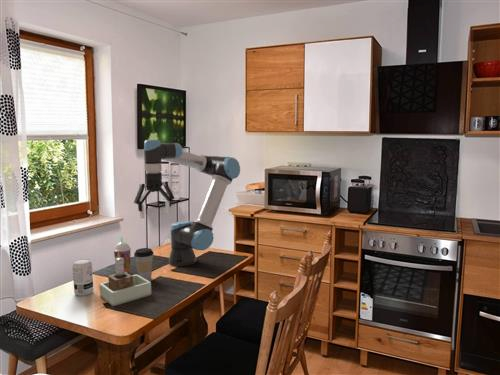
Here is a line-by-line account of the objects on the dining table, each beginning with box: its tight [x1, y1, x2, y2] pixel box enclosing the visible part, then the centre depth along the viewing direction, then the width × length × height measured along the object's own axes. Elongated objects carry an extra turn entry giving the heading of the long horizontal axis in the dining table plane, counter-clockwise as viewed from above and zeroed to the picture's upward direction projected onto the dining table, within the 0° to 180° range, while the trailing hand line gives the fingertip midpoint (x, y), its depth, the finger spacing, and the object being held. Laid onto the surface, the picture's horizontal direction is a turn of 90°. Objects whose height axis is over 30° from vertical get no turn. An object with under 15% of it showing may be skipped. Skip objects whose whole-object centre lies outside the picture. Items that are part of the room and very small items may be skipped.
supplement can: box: [71, 258, 95, 297], centre depth 189 cm, size 8×8×15 cm
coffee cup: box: [133, 247, 155, 281], centre depth 206 cm, size 9×9×15 cm
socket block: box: [107, 272, 133, 292], centre depth 185 cm, size 8×8×10 cm
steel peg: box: [114, 257, 125, 279], centre depth 184 cm, size 4×4×12 cm
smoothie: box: [113, 236, 131, 274], centre depth 213 cm, size 8×8×20 cm
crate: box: [99, 273, 152, 307], centre depth 187 cm, size 18×14×6 cm
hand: (155, 215), depth 201 cm, fingers open, 13 cm apart
